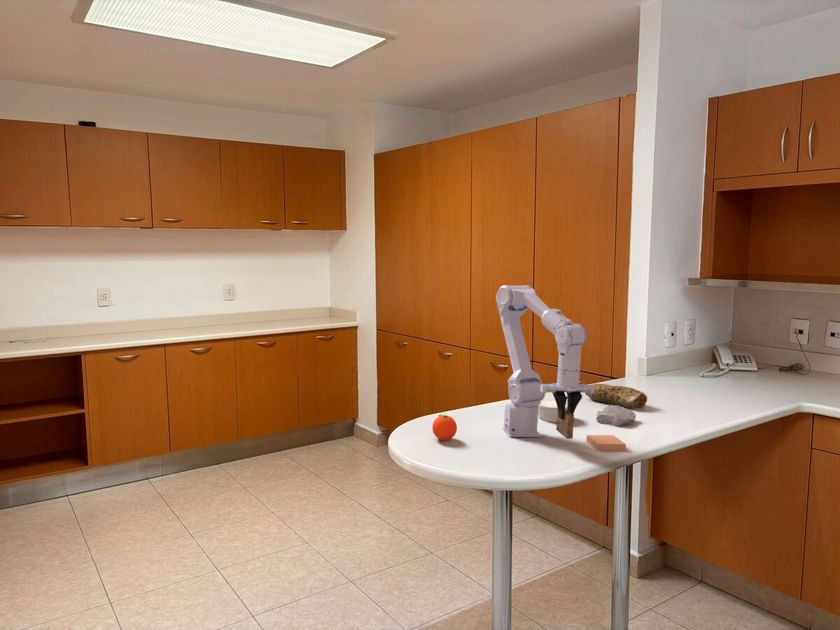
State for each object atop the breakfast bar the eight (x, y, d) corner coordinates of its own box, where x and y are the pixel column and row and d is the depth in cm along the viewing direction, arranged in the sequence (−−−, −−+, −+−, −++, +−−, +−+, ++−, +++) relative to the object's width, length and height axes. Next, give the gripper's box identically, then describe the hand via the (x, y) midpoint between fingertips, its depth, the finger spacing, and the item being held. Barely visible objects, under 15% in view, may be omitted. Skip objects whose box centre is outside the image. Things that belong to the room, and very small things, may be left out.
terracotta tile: (598, 444, 166) (625, 444, 167) (586, 435, 174) (613, 435, 175) (597, 451, 167) (625, 451, 167) (586, 442, 174) (612, 442, 175)
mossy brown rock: (648, 411, 215) (604, 387, 231) (651, 391, 212) (606, 368, 228) (623, 422, 209) (579, 397, 224) (625, 402, 206) (581, 378, 221)
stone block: (636, 426, 198) (607, 414, 203) (640, 412, 196) (611, 401, 202) (622, 435, 188) (592, 423, 194) (626, 421, 187) (596, 409, 193)
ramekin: (529, 418, 195) (530, 402, 194) (546, 412, 204) (546, 396, 203) (561, 426, 188) (562, 409, 187) (577, 419, 197) (578, 403, 196)
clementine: (426, 435, 174) (427, 411, 173) (447, 433, 176) (449, 409, 176) (438, 444, 166) (439, 419, 166) (460, 442, 169) (461, 417, 168)
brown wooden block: (566, 438, 161) (568, 414, 160) (556, 429, 169) (557, 406, 168) (572, 438, 161) (574, 414, 161) (561, 429, 169) (563, 407, 169)
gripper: (547, 372, 158) (544, 422, 160) (600, 372, 160) (597, 422, 162) (539, 366, 165) (536, 415, 167) (590, 367, 167) (586, 415, 168)
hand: (565, 418), depth 165 cm, fingers closed on brown wooden block, 2 cm apart
